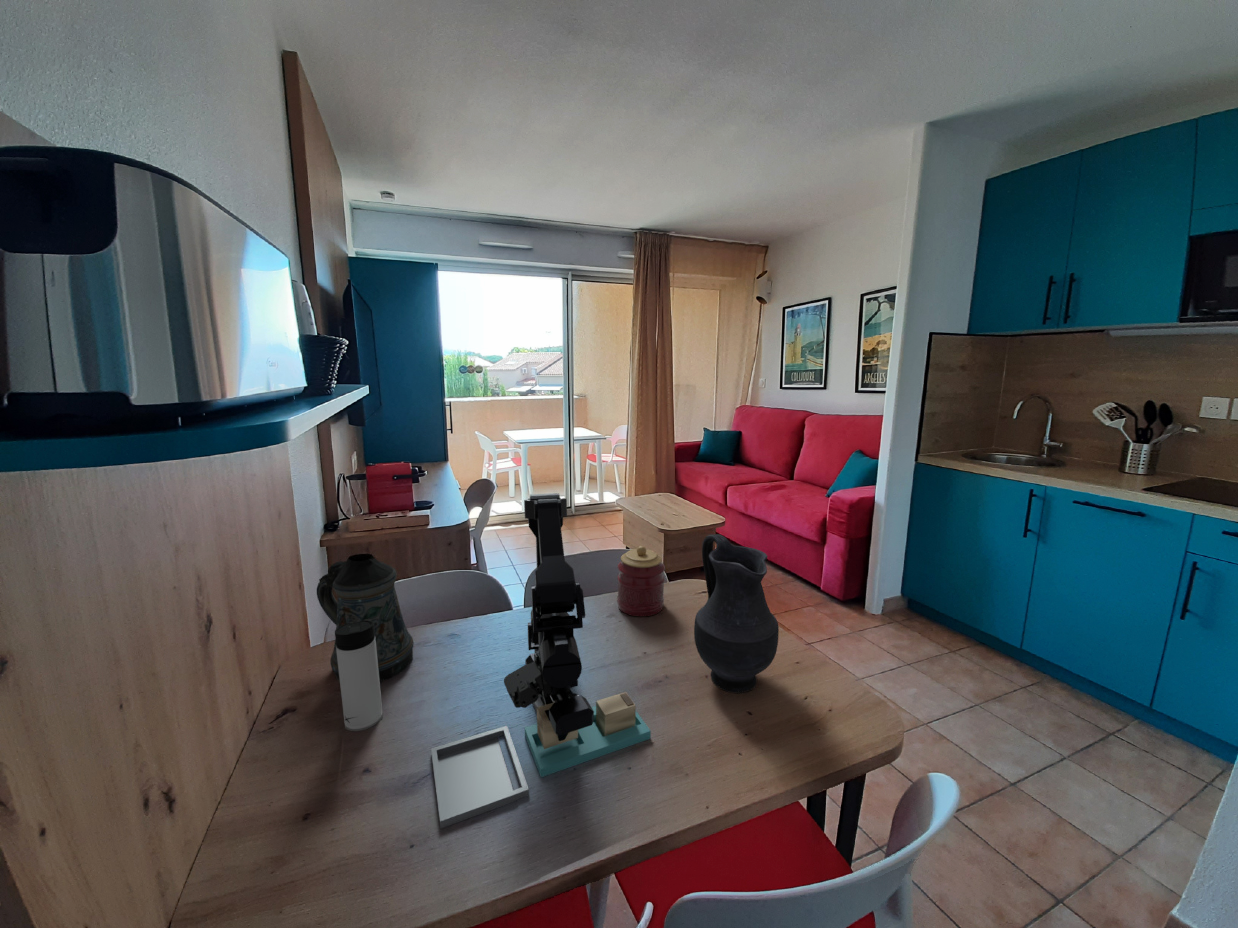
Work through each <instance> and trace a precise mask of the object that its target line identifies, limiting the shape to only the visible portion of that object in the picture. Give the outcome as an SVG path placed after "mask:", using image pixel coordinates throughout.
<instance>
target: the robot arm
mask: <svg viewBox="0 0 1238 928" xmlns="http://www.w3.org/2000/svg"><path fill="white" fill-rule="evenodd" d="M567 501H568V499H567V498H566V497H565V498H561V497H560V493H558V492H556V493H535V494H533V493H532V494H529V498H528V499H524V500H523V506H524V508H523V509H524V512H523V513H524V519H526V520H527V521H528V528H529V529H530V531H531V532H532V534H533V535H534V537H535V552H536V553H535V554H536V555H535V556H536V570H535V578H534V580H535V581H534V583H535V585H531V587H530V588H531V589H530V590H531V592H530V593H531V611H530V622H527V646H528V648H527V649H528V651H533V650H534V653H530V654H528V656H527V657H526V659H525V664H524V665H522V666H520V667H519V668H517V669H515V670H514V671H512V672H510V673H509V674H508V675H506V676H505V677H504V679H503V683H504V686H505V689H506V691H507V693H508V695H509V698H510V700H511V702H512V704H513V705H514V708H517V709H519V708H523V709H524V708H525V709H526V708H527V707H529V706H531V705H533V703H534V702H535V701H537V700H538V695H539V694H540V695H542V696H543V698H544V702H545V703H544V705H547V704H550V703H554V702H555V703H554V704H553V705H552V706H551V708H550V709H549V710H545V713H546V715H547V717H548V719H549V721H550V722H551V724H552V727H553V729H554V731H555V733H556V734H557V736H558V740H559V741H562V740H565V739H566V737H567V735H568V733H569V732H572V731H575V730H579V729H582V728H585V727H588V726H591V725H592V724H593V722H594V711H593V709H592V708H591V707H592V706H591V704H590V703H589V701H588V699H587V698H586V697H584V696H583V695H582V694H578V693H576V692H573V690H572V689H573V688H575V687H578V686H579V678H580V676H581V674H582V671H583V667H582V661H581V657H580V653H579V648H578V644H577V640H576V638H575V635H574V633H575V632H574V630H575V629H577V630H578V629H583V627H584V626H583V625H584V624H583V619H585V618H586V608H585V599H584V590H583V588H582V587H581V584H580V582H578V581H576V580H575V579H576V578H575V571H574V568H573V567H572V566H571V565H570V564H569V563H568V562H567V561H566V560H565V549H564V542H563V535H562V534H563V533H562V527H563V526H564V518H565V517H568V505H567V504H568V503H567ZM575 609H576V610H575ZM574 610H575V611H576V615H575V614H573V615H572V614H571V615H570V614H569V613H571V612H573V611H574ZM571 688H572V689H571Z"/></svg>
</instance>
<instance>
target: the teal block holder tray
mask: <svg viewBox="0 0 1238 928" xmlns="http://www.w3.org/2000/svg"><path fill="white" fill-rule="evenodd" d="M591 708H592V709H593V711H594V722H593V724H592V725H591V726H588V727H585V728H582V729H579V730H578V738H576V739H573V740H570V741H567V742H564V743H561V744H558V745H555V746H552V747H549V748H546V749H544V748H543V745H542V743H541V740H540V738H539V736H538V733H537V723H536V724H531V725H529V726H526V727H524V736H525V739H526V742H527V744H528V747H529V750H530V752H531V754H532V758H533V761H534V764H535V765H536V768H537V771H538V773H539V776H540V778H544V777H546V776H549V775H552V774H554V773H555V774H556V773H557V772H560V771H563V770H566V769H568V768H571V767H574V766H579V765H580V764H582V763H583V764H584V763H585V762H589V761H591V760H594V759H597V758H600V757H603V756H605V755H609V754H611V753H614V752H617V751H619V750H622V749H625V748H628V747H631V746H633V745H637V744H640V743H642V742H644V741H648V740H651V738H652V736H651V735H652V732H651V729H650V728H649V727H648V725H647V723H645V721H644V719H642V717H641V715H639V712H638V711H637V710H636V717H635V726H634V727H631V728H628V729H625V730H622V731H619V732H616V733H613V734H610V735H607V736H604V737H603V736H602V734H601V732H600V731H599V729H598V727H597V726H596V705H594V706H591Z"/></svg>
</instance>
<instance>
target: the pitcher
mask: <svg viewBox="0 0 1238 928" xmlns="http://www.w3.org/2000/svg"><path fill="white" fill-rule="evenodd" d="M714 542H715V545H716V548H714ZM701 556H702V557H701V558H702V564H703V565H702V566H703V571H704V577H705V579H704V580H705V584H706V591H707V601H706V603H705V604H704V605H703V606H702V607H701V608H700V609H699V610H697V612H696V615H695V618H694V625H693V635H694V636H693V638H694V643H695V647H696V650H697V653H698V654H699V657H700V658H701V660H702V661H703V662H704V664H705V665H706V666H707V668H709V670H710V678H711V681H712V683H713V684H714V685H715V686H716V687H717V688H719V689H721V690H723V691H725V692H728V693H732V694H733V693H735V694H742V693H747V692H749V691H752V690H753V689H754V688H756V686H757V684H758V683H757V675H759V674H761V673H762V672H764V671H765V670H767V668H769V666H770V665H771V664H772V663H773V662H774V661H773V660H775V658H776V657H775V656H776V654H777V651H778V644H779V635H780V634H779V633H780V632H779V630H780V629H779V627H780V626H779V622H778V620H777V618H776V616H775V615H774V614H773V613H772V612H771V610H770V607H769V606H768V602H767V600H766V595H765V592H764V591H765V590H764V587H763V584H762V581H763V579H764V577H765V576H766V574H767V572H768V568H767V565H766V563H765V562H766V561H767V559H768V554H767V553H765V552H764V551H762V550H761V549H760V550H759V549H757V548H753V547H749V546H741V545H734V544H732V543H731V542H730V541H729V540H728V539H727V538H726V537H725V536H724V535H722V534H719V533H717V534H708V535H706V536H705V537H704V539H703V541H702V545H701Z"/></svg>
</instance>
